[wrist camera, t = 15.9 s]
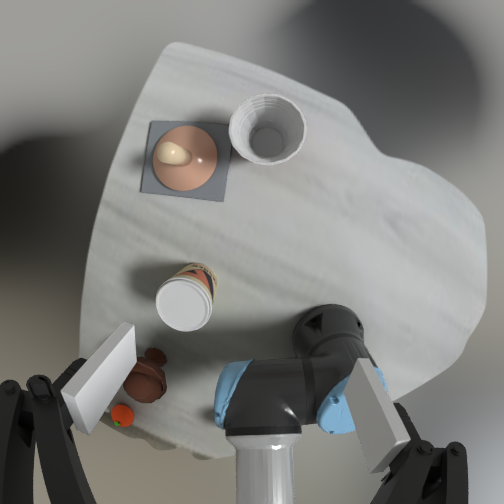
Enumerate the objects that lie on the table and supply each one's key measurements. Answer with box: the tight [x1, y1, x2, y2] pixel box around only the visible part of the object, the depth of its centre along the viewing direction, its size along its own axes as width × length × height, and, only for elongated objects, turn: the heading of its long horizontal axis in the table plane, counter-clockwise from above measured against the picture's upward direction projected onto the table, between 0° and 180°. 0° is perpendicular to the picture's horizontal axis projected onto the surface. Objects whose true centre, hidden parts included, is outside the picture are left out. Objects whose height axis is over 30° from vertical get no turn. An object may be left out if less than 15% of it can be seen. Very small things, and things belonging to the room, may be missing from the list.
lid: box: [153, 126, 218, 191], centre depth 41 cm, size 12×12×10 cm
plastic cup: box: [229, 93, 307, 165], centre depth 40 cm, size 11×11×12 cm
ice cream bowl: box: [123, 348, 167, 403], centre depth 50 cm, size 11×11×15 cm
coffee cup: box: [155, 263, 217, 332], centre depth 46 cm, size 9×9×12 cm
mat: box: [141, 121, 232, 202], centre depth 46 cm, size 16×14×1 cm
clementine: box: [111, 404, 134, 427], centre depth 60 cm, size 8×7×7 cm
